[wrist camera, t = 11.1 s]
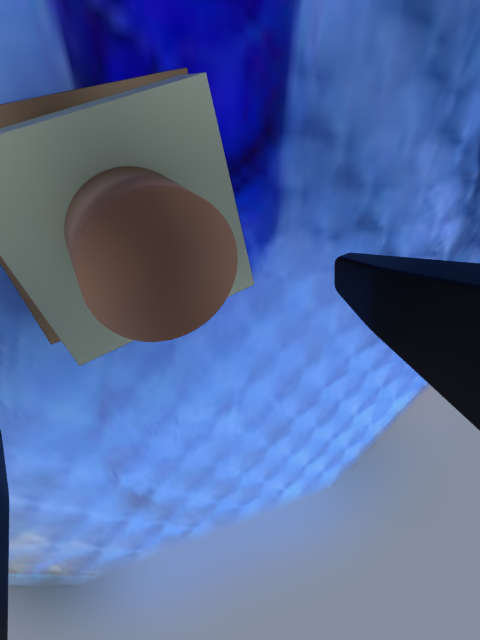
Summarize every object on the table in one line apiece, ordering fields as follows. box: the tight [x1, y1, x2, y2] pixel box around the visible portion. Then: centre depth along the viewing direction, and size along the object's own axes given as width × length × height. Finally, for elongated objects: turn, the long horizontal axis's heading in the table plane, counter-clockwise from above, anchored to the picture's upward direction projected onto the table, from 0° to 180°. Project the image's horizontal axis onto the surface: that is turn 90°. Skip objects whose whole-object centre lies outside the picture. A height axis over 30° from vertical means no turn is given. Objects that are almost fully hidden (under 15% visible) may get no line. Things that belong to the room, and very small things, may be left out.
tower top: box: [0, 72, 254, 366], centre depth 15 cm, size 9×9×3 cm
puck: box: [64, 166, 238, 342], centre depth 13 cm, size 5×5×4 cm
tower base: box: [0, 68, 188, 344], centre depth 18 cm, size 10×10×3 cm
